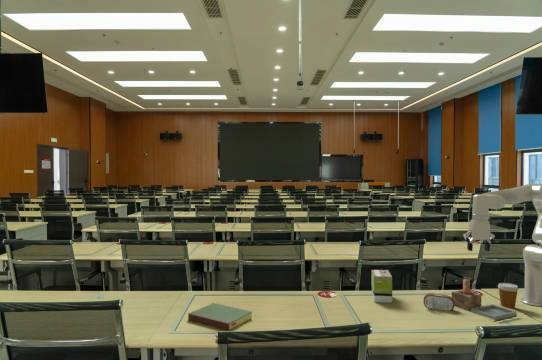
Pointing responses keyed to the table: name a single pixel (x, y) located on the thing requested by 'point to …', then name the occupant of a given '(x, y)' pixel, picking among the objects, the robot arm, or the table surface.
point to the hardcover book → (220, 316)
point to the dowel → (466, 286)
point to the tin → (439, 302)
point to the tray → (494, 312)
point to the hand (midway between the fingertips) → (478, 250)
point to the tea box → (382, 286)
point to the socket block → (466, 300)
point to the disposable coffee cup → (508, 294)
